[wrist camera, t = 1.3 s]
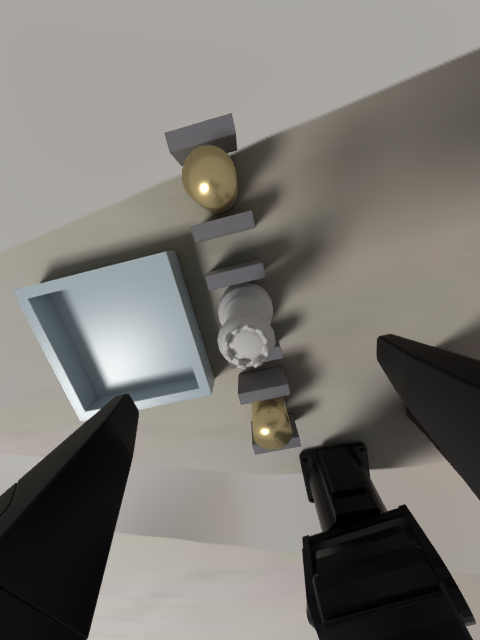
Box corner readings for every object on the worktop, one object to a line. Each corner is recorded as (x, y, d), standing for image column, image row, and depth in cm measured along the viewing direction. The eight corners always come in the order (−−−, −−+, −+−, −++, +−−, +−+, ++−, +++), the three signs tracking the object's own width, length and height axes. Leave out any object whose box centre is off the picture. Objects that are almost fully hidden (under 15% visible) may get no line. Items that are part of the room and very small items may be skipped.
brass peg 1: (242, 207, 19) (241, 198, 14) (202, 217, 19) (190, 212, 15) (232, 162, 18) (228, 138, 14) (191, 173, 18) (174, 153, 14)
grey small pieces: (294, 421, 24) (301, 446, 22) (253, 429, 25) (254, 454, 22) (233, 133, 17) (231, 113, 14) (177, 149, 18) (164, 132, 15)
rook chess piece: (281, 294, 21) (304, 328, 13) (258, 341, 22) (266, 396, 14) (231, 271, 20) (224, 293, 13) (210, 320, 21) (191, 367, 14)
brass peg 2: (286, 408, 24) (295, 446, 20) (255, 414, 24) (257, 452, 20) (280, 381, 23) (288, 414, 19) (248, 388, 23) (249, 422, 19)
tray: (214, 378, 23) (211, 394, 21) (96, 403, 24) (80, 421, 22) (175, 249, 20) (165, 251, 17) (38, 284, 21) (12, 290, 18)
